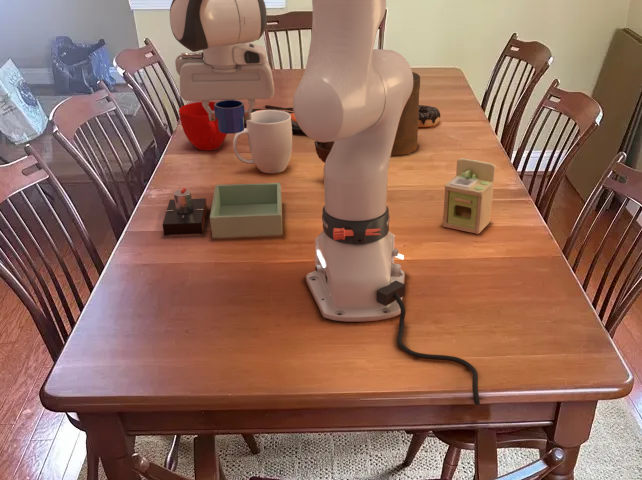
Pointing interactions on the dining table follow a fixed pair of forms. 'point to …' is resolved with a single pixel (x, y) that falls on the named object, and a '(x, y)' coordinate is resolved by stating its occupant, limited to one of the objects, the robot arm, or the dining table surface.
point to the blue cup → (230, 116)
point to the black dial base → (185, 219)
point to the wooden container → (408, 123)
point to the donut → (428, 116)
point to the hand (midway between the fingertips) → (230, 119)
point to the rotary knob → (183, 201)
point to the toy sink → (469, 196)
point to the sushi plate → (293, 120)
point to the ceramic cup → (200, 126)
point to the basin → (246, 210)
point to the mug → (268, 140)
